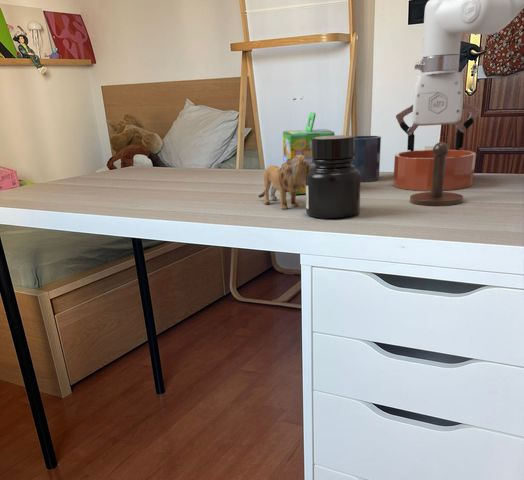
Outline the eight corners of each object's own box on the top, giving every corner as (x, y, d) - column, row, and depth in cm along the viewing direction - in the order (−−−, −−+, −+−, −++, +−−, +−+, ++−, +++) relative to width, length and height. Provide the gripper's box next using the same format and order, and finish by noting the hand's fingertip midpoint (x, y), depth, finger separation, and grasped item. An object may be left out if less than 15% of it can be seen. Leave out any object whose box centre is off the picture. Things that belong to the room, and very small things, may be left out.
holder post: (460, 196, 97) (466, 138, 92) (465, 205, 89) (472, 143, 85) (409, 196, 99) (413, 140, 94) (409, 206, 91) (414, 145, 87)
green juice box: (283, 188, 114) (280, 113, 107) (325, 185, 115) (325, 111, 108) (290, 195, 106) (287, 115, 99) (334, 192, 106) (335, 112, 100)
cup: (379, 176, 122) (381, 135, 118) (378, 181, 116) (380, 138, 112) (347, 177, 124) (347, 136, 120) (343, 182, 118) (344, 139, 114)
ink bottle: (331, 206, 94) (332, 134, 89) (371, 211, 88) (375, 134, 83) (293, 215, 88) (291, 139, 83) (333, 222, 82) (334, 140, 77)
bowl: (464, 173, 121) (468, 145, 118) (475, 190, 101) (480, 157, 98) (394, 174, 124) (396, 147, 122) (392, 191, 105) (394, 159, 102)
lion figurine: (318, 207, 94) (318, 154, 90) (295, 212, 91) (293, 157, 87) (269, 198, 105) (267, 150, 101) (247, 202, 102) (244, 152, 98)
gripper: (397, 69, 110) (394, 156, 117) (486, 62, 106) (477, 152, 113) (398, 70, 116) (394, 152, 124) (481, 63, 112) (473, 149, 119)
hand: (434, 152), depth 118 cm, fingers open, 9 cm apart
